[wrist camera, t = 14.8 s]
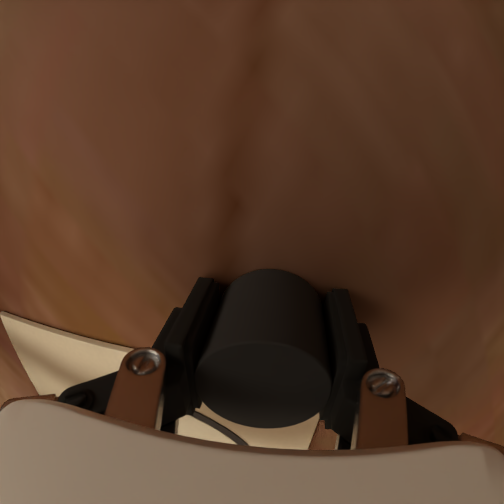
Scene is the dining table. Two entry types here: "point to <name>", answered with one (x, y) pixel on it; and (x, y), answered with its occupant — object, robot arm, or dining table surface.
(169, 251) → the dining table surface
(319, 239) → the dining table surface
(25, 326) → the drawing board
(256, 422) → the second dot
